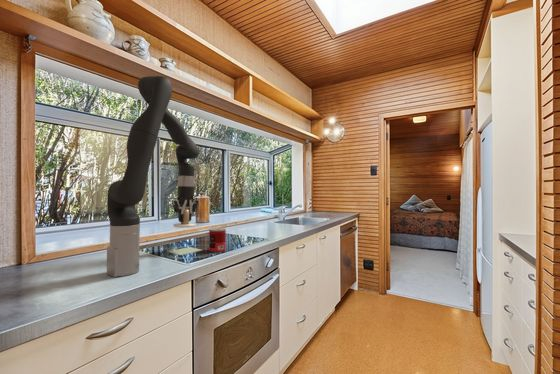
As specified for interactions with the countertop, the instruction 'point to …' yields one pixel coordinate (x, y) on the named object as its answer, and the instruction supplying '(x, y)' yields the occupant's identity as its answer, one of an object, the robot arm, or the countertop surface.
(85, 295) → the countertop surface
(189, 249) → the mat
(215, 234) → the canned food
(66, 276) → the countertop surface
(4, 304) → the countertop surface
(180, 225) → the lid
